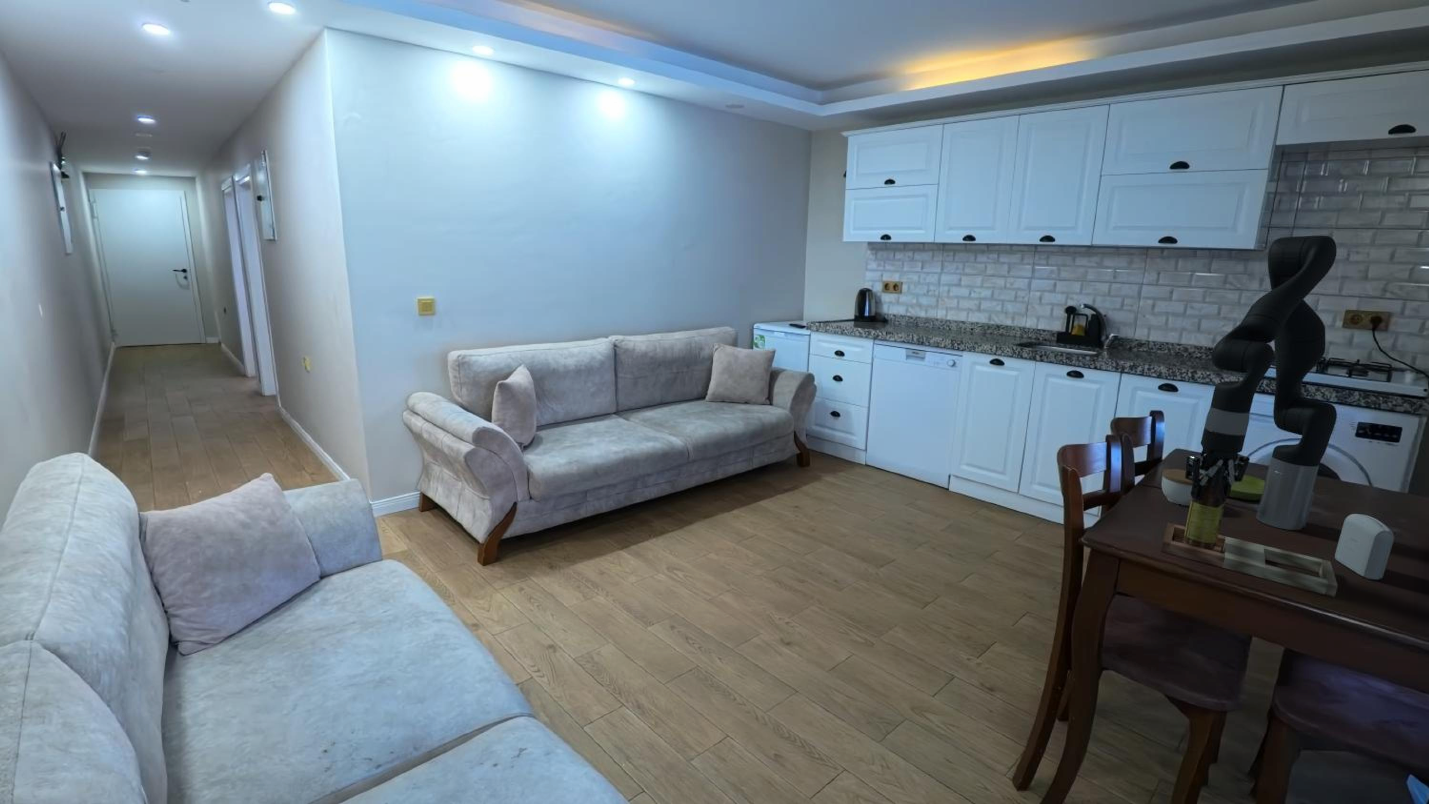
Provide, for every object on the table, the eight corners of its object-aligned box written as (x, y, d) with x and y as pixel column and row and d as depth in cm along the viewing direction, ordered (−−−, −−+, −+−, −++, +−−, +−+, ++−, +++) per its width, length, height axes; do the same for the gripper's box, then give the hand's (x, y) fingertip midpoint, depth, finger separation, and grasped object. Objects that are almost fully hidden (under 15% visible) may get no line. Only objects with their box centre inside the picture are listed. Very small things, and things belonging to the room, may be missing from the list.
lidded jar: (1188, 511, 176) (1195, 478, 174) (1148, 496, 186) (1155, 465, 183) (1212, 506, 180) (1220, 474, 178) (1173, 492, 190) (1179, 461, 188)
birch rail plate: (1327, 571, 145) (1330, 561, 144) (1334, 596, 134) (1337, 586, 134) (1165, 531, 163) (1167, 522, 162) (1160, 551, 152) (1163, 541, 151)
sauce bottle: (1220, 552, 149) (1240, 470, 145) (1190, 549, 151) (1209, 468, 146) (1206, 539, 156) (1224, 461, 151) (1176, 536, 157) (1194, 458, 152)
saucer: (1295, 505, 184) (1298, 494, 183) (1222, 502, 184) (1224, 492, 183) (1238, 479, 204) (1241, 469, 203) (1172, 476, 204) (1175, 466, 203)
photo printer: (1329, 557, 152) (1344, 508, 149) (1351, 559, 151) (1366, 510, 148) (1362, 579, 142) (1378, 526, 139) (1385, 581, 141) (1402, 529, 138)
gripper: (1238, 423, 151) (1222, 491, 155) (1182, 424, 149) (1167, 492, 153) (1269, 433, 143) (1251, 504, 148) (1210, 433, 142) (1194, 505, 146)
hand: (1208, 498), depth 150 cm, fingers closed on sauce bottle, 6 cm apart
